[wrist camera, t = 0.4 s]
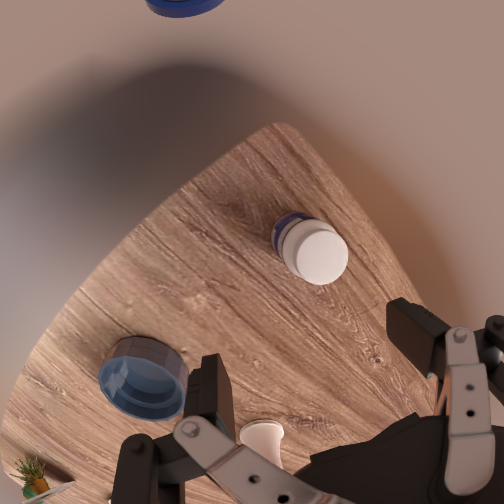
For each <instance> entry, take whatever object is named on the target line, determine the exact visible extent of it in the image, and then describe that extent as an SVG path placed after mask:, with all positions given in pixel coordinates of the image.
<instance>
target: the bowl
mask: <svg viewBox="0 0 504 504" xmlns="http://www.w3.org/2000/svg"><path fill="white" fill-rule="evenodd" d="M188 377H189V372H188V370H187V368H186V366H185V364H184V362H183V360H182V358H181V357H180V356H179V355H177V354H176V353H175V352H174V351H173V350H172V349H171V348H170V347H168V346H166V345H164V344H162V343H160V342H158V341H155V340H153V339H148V338H141V337H132V338H127V339H122V340H120V341H119V342H118V343H117V344H115V345H114V346H113V347H112V348H111V350H110V351H109V353H108V355H107V356H106V358H105V360H104V362H103V363H102V365H101V368H100V371H99V374H98V380H99V384H100V388H101V391H102V392H103V394H104V395H105V396H106V398H107V399H108V401H109V402H110V403H111V404H113V405H114V406H115V407H116V408H118V409H119V410H120V411H122V412H123V413H125V414H128V415H130V416H132V417H134V418H137V419H141V420H146V421H152V422H156V421H166V420H169V419H171V418H173V417H175V416H177V415H179V414H180V413H181V411H182V410H183V408H184V405H185V397H186V390H187V382H188Z"/></svg>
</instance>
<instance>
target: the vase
mask: <svg viewBox="0 0 504 504" xmlns="http://www.w3.org/2000/svg"><path fill="white" fill-rule="evenodd" d="M283 435H284V431H283V427H282V425H281V424H280V423H278V422H276V421H273V420H256V421H253V422H250V423H248V424H246V425H245V426H243V427H242V429H241V430H240V440H241V441H242V442H243V443H244V444H245V445H246V446H248V447H249V448H251V449H252V450H254V451H255V452H257V453H258V454H260V455H261V456H263V457H264V458H266V459H267V460H269V461H270V462H272V463H273V464H275V465H277V466H278V467H280V468H281V469H283V467H282V464H281V460H280V441H281V438H282V437H283ZM283 470H284V469H283Z"/></svg>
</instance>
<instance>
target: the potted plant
mask: <svg viewBox="0 0 504 504" xmlns="http://www.w3.org/2000/svg"><path fill="white" fill-rule="evenodd" d="M25 456H26V460H27V465H28V466H29V468H30V469H29V468H28V467H27V466H26V465H24V463H23V462H21V460H20V459H19V458H18V460H20V462H21V463H22V464H23V465H22V464H21V465H22V466H23V467H21V466H20V465H19V464H17V462H16V461H15V463H16V464H17V465H18V466H19V467H20V468H21V469H22V470H21V471H19V469H16V470H18V471H19V472H20V473H21V474H23V475H24V476H25V477H20V476H15V475H12V474H10V475H12V476H15V477H18V478H20V479H21V480H24V481H27V482H25V483H27V484H24V485H25V486H24V487H23V489H22V490H24V489H25V488H26V487H28V486H30V487H31V488H32V489H33V491H34V492H35V493H36V494H37V495H38V496H35V497H33V498H31V499H29V500H26V501H24V502H23V503H21V504H35V503H38V502H40V501H43V500H46V499H48V498H51V497H53V496H55V495H57V494H59V493H61V492H63V491H64V490H66V489H67V488H69V487H71V486H72V485H73V484H75V482H76V481H72V482H68V483H64V484H62V485H61V486H58V487H55V488H52V489H50V488H49V486H48V484H47V483H46V481H45V480H46V479H45V478H43V476H44V475H43V474H44V469H45V466H46V463H47V461H46V463H44V465H43V467H42V468H41V466H40V463H39V462H38V463H37V457H36V462H35V459H34V462H35V467H34V463H33V461H32V460H31V458H30V463H29V461H28V459H27V455H26V453H25ZM31 461H32V463H33V467H34V470H33V469H32V466H31ZM37 466H38V468H37ZM27 468H28V469H27ZM23 470H24V471H23ZM29 471H30V472H31V473H30V472H29Z"/></svg>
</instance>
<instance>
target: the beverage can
mask: <svg viewBox="0 0 504 504" xmlns="http://www.w3.org/2000/svg"><path fill="white" fill-rule="evenodd" d="M26 484H27V483H26ZM23 496H24V497H25V498H26V499H28V500H29V499H31V498H33V497H35V496H38V495H37V494H36V493H35V492H34V491H33V489H32V488H31V487H30V486H28V487H26V488H25V489H24V491H23ZM42 502H43V501H40V502H38V503H35V504H42Z"/></svg>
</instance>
